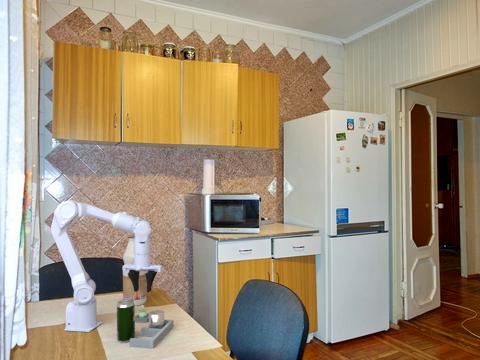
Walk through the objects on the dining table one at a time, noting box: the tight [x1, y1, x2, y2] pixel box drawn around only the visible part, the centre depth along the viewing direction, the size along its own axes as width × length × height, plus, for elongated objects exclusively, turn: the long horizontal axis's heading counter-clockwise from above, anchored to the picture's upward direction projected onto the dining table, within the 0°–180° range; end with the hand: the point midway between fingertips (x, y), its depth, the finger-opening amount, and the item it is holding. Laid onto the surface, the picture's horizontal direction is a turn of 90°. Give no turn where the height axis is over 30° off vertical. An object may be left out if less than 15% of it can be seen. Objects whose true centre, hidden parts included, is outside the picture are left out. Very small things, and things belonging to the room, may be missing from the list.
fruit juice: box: [122, 234, 148, 307], centre depth 152 cm, size 9×9×28 cm
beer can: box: [116, 299, 136, 344], centre depth 116 cm, size 5×5×12 cm
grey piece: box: [129, 319, 174, 349], centre depth 118 cm, size 8×17×2 cm, turn 170°
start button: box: [138, 310, 148, 318], centre depth 132 cm, size 3×3×2 cm
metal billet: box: [148, 309, 165, 329], centre depth 122 cm, size 5×5×6 cm
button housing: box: [135, 312, 150, 324], centre depth 132 cm, size 5×5×2 cm
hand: (142, 291), depth 132 cm, fingers open, 4 cm apart
